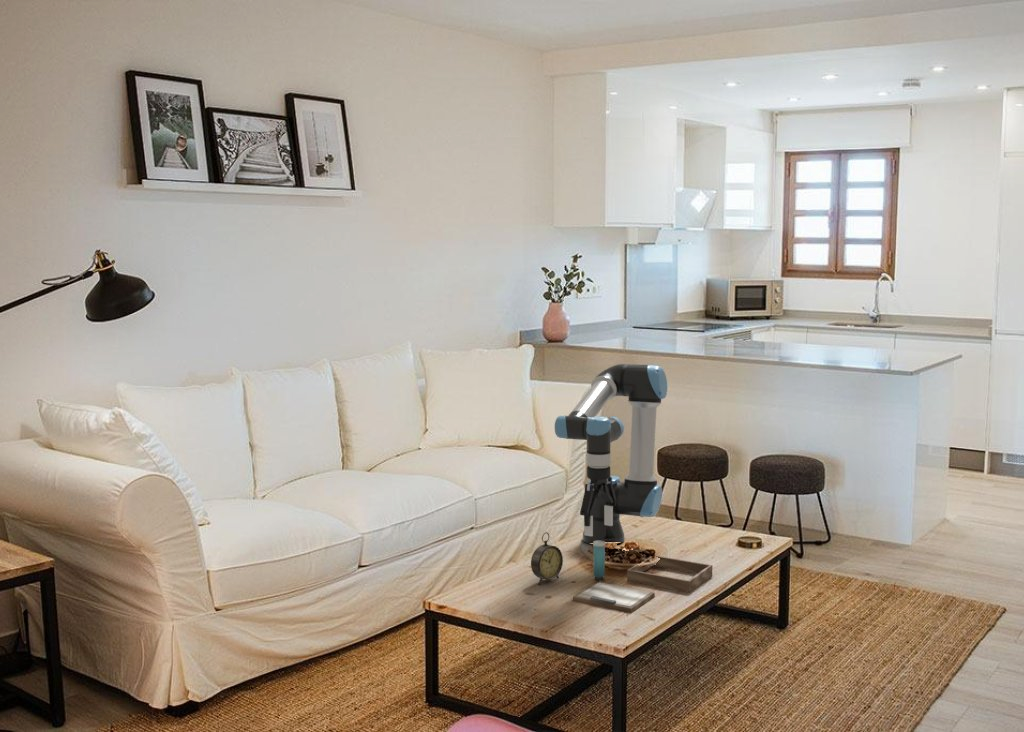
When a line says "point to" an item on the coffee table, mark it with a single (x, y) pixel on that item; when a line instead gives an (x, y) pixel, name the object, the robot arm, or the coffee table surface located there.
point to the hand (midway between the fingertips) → (598, 530)
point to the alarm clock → (546, 561)
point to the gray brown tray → (668, 582)
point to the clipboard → (614, 596)
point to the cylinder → (599, 560)
